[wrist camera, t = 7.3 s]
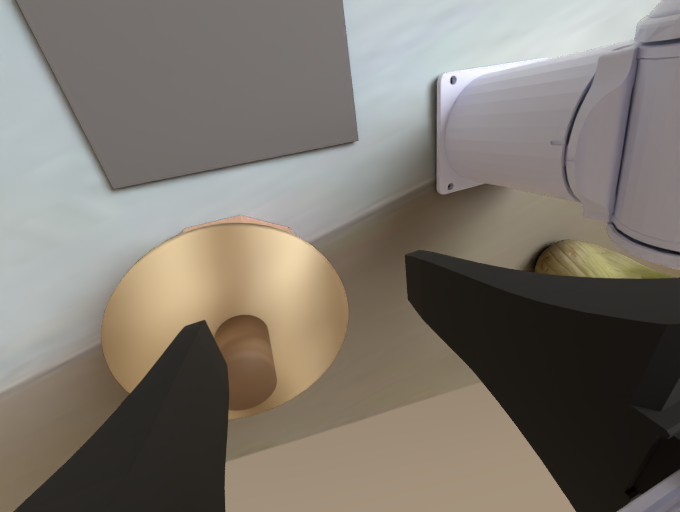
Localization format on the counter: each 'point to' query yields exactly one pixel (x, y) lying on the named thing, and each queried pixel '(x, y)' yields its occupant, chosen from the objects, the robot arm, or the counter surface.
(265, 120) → the mat
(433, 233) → the counter surface
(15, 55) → the counter surface
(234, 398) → the lid
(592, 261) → the fennel bulb
